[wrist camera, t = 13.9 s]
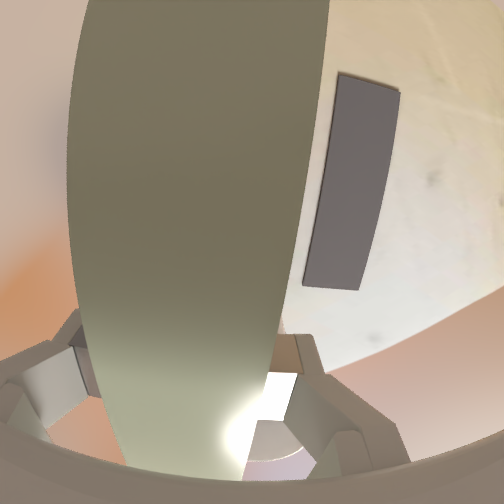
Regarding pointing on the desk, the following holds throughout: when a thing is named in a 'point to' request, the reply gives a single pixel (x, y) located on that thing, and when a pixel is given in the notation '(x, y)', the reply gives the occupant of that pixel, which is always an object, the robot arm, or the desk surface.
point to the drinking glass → (273, 436)
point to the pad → (352, 183)
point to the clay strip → (188, 213)
